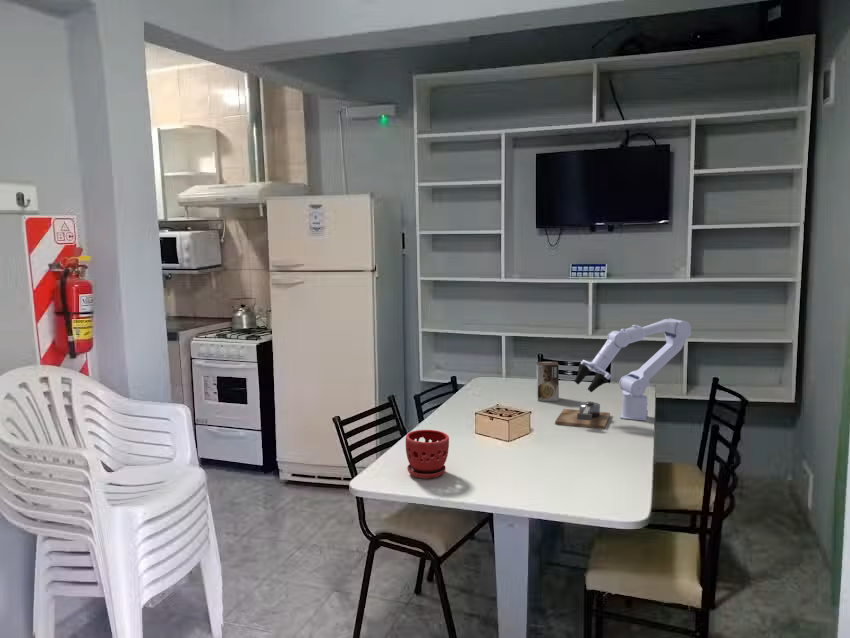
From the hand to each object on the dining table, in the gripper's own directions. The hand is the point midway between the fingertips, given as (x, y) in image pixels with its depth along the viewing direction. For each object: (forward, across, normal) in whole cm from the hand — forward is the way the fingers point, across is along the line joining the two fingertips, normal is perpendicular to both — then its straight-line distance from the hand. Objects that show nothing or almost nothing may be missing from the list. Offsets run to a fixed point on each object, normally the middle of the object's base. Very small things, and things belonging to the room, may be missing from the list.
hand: (582, 386), depth 236 cm
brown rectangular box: (+10, -29, +19) cm, 36 cm away
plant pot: (+54, +20, -53) cm, 78 cm away
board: (+10, +1, +9) cm, 14 cm away
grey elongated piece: (+8, +4, +8) cm, 12 cm away
